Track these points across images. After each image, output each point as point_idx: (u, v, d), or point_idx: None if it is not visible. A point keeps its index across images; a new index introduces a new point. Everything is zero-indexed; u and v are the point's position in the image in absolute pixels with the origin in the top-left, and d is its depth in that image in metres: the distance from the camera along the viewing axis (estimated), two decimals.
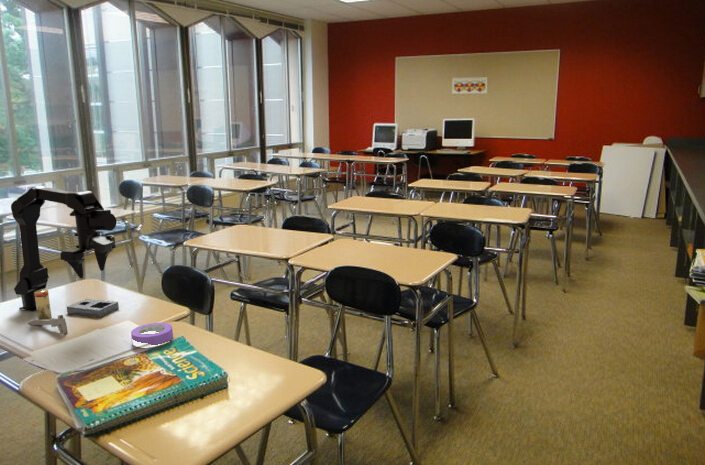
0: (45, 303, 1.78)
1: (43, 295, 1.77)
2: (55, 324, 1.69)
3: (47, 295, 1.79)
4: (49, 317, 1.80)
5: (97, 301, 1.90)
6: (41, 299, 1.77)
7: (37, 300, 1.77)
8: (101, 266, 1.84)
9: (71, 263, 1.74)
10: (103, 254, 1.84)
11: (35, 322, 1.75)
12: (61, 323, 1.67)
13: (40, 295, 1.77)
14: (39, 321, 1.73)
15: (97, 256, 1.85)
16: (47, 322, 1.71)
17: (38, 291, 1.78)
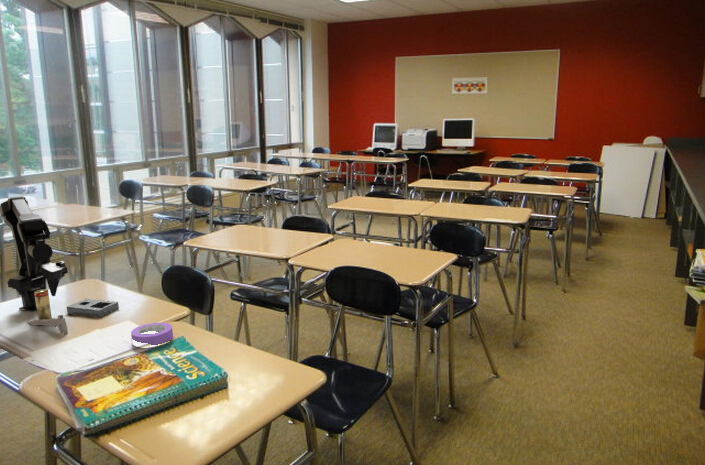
0: (45, 303, 1.78)
1: (43, 295, 1.77)
2: (55, 324, 1.69)
3: (47, 295, 1.79)
4: (49, 317, 1.80)
5: (97, 301, 1.90)
6: (41, 299, 1.77)
7: (37, 300, 1.77)
8: (53, 292, 1.83)
9: (19, 290, 1.73)
10: (54, 280, 1.82)
11: (35, 322, 1.75)
12: (61, 323, 1.67)
13: (40, 295, 1.77)
14: (39, 321, 1.73)
15: (49, 282, 1.83)
16: (47, 322, 1.71)
17: (38, 291, 1.78)
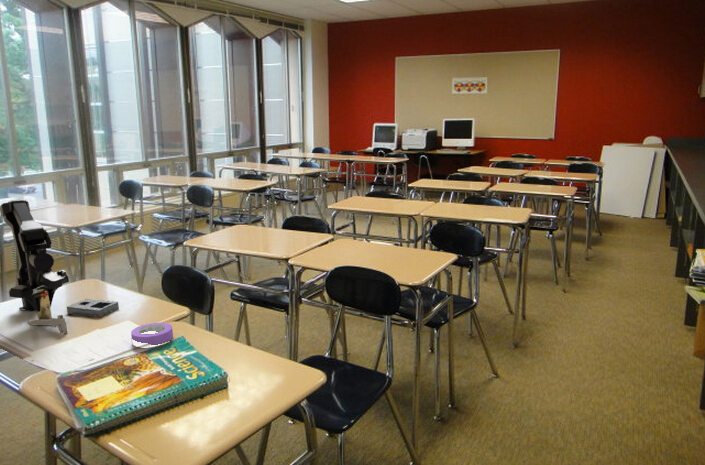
0: (45, 303, 1.78)
1: (43, 295, 1.77)
2: (55, 324, 1.69)
3: (47, 295, 1.79)
4: (49, 317, 1.80)
5: (97, 301, 1.90)
6: (41, 299, 1.77)
7: None
8: None
9: (27, 297, 1.75)
10: (50, 291, 1.81)
11: (35, 322, 1.75)
12: (61, 323, 1.67)
13: (40, 295, 1.77)
14: (39, 321, 1.73)
15: None
16: (47, 322, 1.71)
17: (38, 291, 1.78)
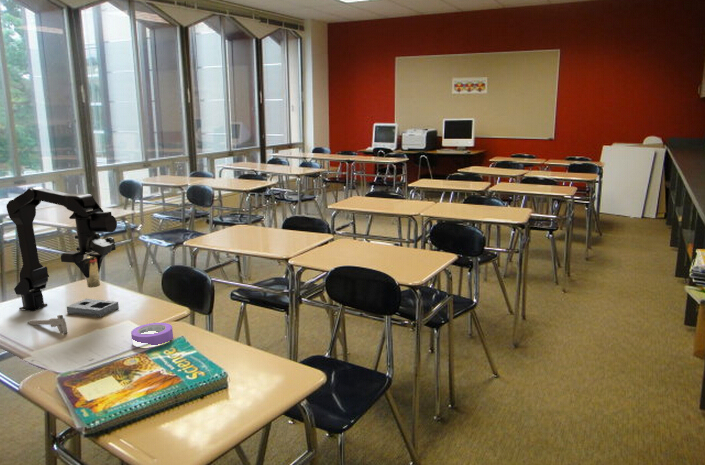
0: (94, 269, 1.81)
1: (92, 261, 1.81)
2: (55, 324, 1.69)
3: (96, 261, 1.82)
4: (98, 283, 1.83)
5: (97, 301, 1.90)
6: (90, 265, 1.80)
7: None
8: None
9: (77, 263, 1.79)
10: (98, 258, 1.84)
11: (35, 322, 1.75)
12: (61, 323, 1.67)
13: (89, 261, 1.80)
14: (39, 321, 1.73)
15: None
16: (47, 322, 1.71)
17: (87, 258, 1.81)
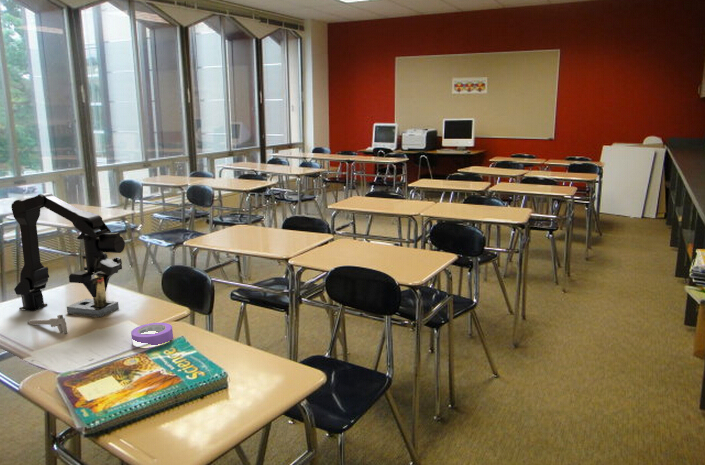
0: (101, 289, 1.84)
1: (99, 281, 1.83)
2: (55, 324, 1.69)
3: (103, 281, 1.84)
4: (104, 302, 1.85)
5: None
6: (98, 285, 1.83)
7: None
8: None
9: (85, 283, 1.81)
10: (105, 277, 1.86)
11: (35, 322, 1.75)
12: (61, 323, 1.67)
13: (97, 281, 1.82)
14: (39, 321, 1.73)
15: None
16: (47, 322, 1.71)
17: None
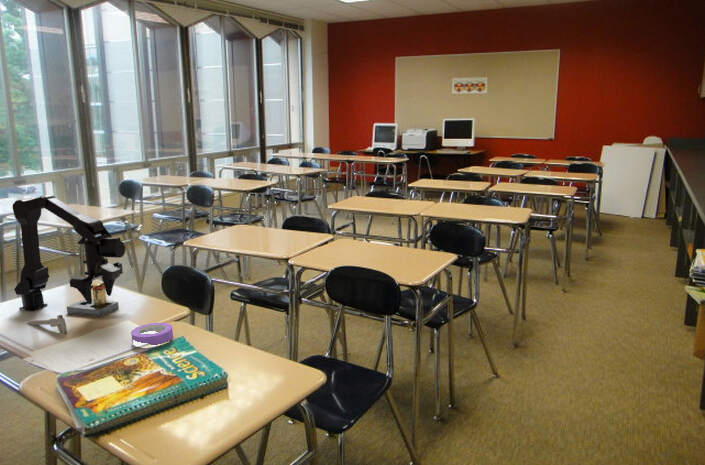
0: (102, 296, 1.84)
1: (100, 288, 1.83)
2: (55, 324, 1.69)
3: (104, 288, 1.85)
4: None
5: None
6: (98, 292, 1.83)
7: (95, 293, 1.83)
8: (108, 291, 1.89)
9: (80, 290, 1.79)
10: (110, 280, 1.89)
11: (35, 322, 1.75)
12: (61, 323, 1.67)
13: (98, 288, 1.83)
14: (39, 321, 1.73)
15: (105, 282, 1.90)
16: (47, 322, 1.71)
17: (95, 284, 1.84)
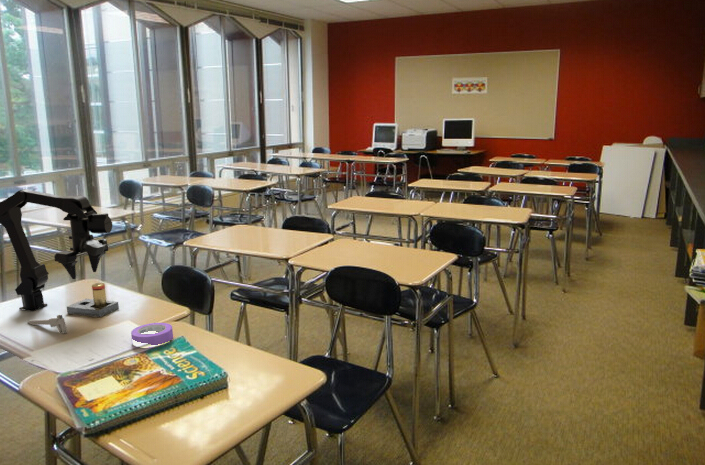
0: (102, 296, 1.84)
1: (100, 288, 1.83)
2: (54, 324, 1.69)
3: (104, 288, 1.85)
4: None
5: None
6: (98, 292, 1.83)
7: (95, 293, 1.83)
8: (94, 268, 1.93)
9: (65, 264, 1.83)
10: (96, 256, 1.92)
11: (35, 322, 1.75)
12: (60, 323, 1.67)
13: (98, 288, 1.83)
14: (38, 321, 1.73)
15: (91, 258, 1.93)
16: (46, 322, 1.71)
17: (95, 284, 1.84)
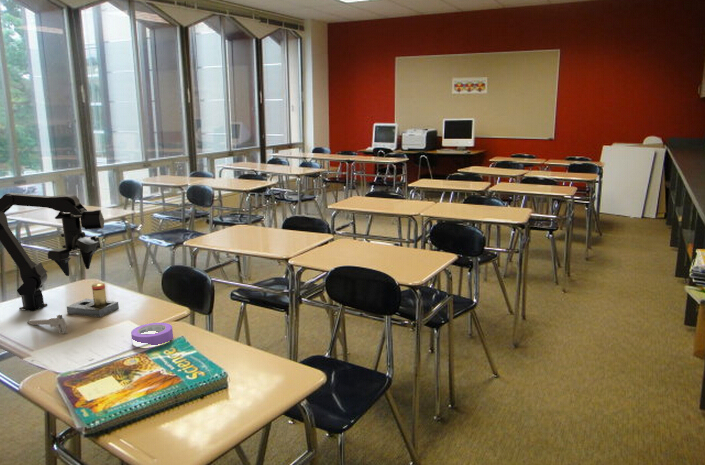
0: (102, 296, 1.84)
1: (100, 288, 1.83)
2: (54, 324, 1.69)
3: (104, 288, 1.85)
4: None
5: None
6: (99, 292, 1.83)
7: (95, 293, 1.83)
8: (87, 265, 1.97)
9: (58, 262, 1.86)
10: (88, 253, 1.96)
11: (35, 322, 1.75)
12: (60, 323, 1.67)
13: (98, 288, 1.83)
14: (38, 321, 1.73)
15: (83, 256, 1.97)
16: (46, 322, 1.71)
17: (95, 284, 1.84)
